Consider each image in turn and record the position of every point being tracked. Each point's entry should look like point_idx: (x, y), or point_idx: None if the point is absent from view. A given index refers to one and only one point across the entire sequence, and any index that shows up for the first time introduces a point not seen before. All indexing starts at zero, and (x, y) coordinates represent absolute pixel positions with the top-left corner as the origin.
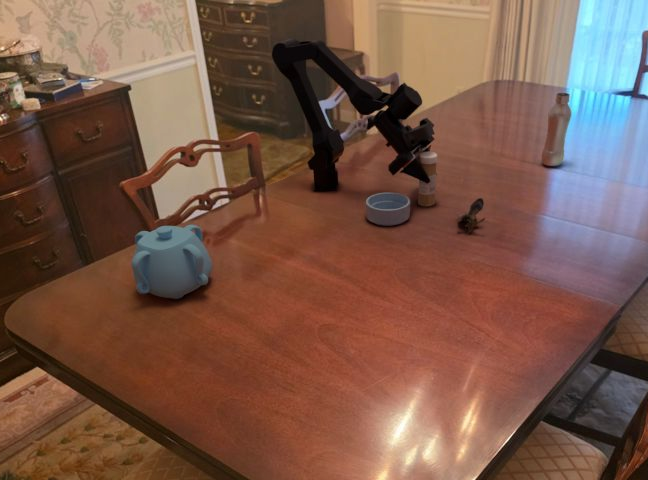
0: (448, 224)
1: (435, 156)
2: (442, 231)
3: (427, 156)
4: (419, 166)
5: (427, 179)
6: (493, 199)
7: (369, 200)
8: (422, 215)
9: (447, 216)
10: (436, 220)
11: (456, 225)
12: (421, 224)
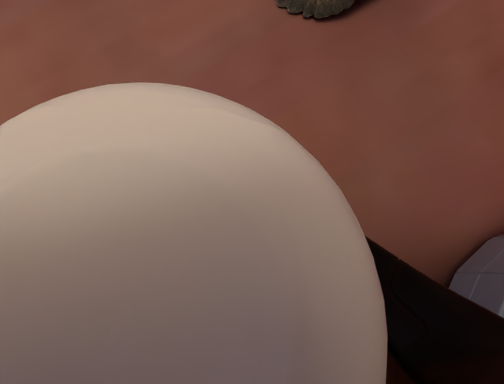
0: (397, 37)
1: (135, 86)
2: (484, 16)
3: (293, 239)
4: (463, 318)
5: None
6: (16, 30)
7: None
8: (397, 203)
9: (320, 91)
10: (398, 108)
11: (380, 4)
12: (496, 141)
